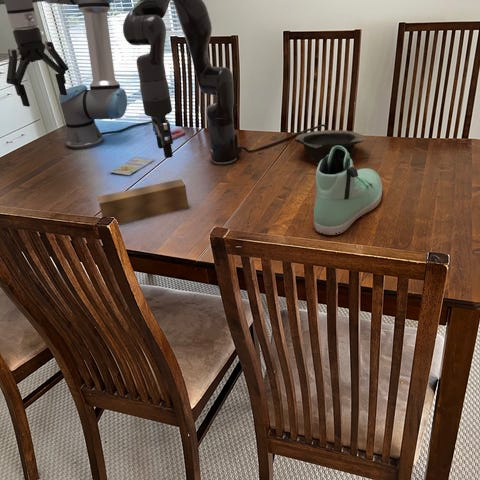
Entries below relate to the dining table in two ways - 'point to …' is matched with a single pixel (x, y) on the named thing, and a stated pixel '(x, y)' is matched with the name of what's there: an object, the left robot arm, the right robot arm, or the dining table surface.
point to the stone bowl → (328, 142)
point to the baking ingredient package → (131, 166)
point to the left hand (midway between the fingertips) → (45, 100)
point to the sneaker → (343, 192)
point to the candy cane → (179, 131)
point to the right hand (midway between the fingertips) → (165, 152)
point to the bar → (144, 201)
